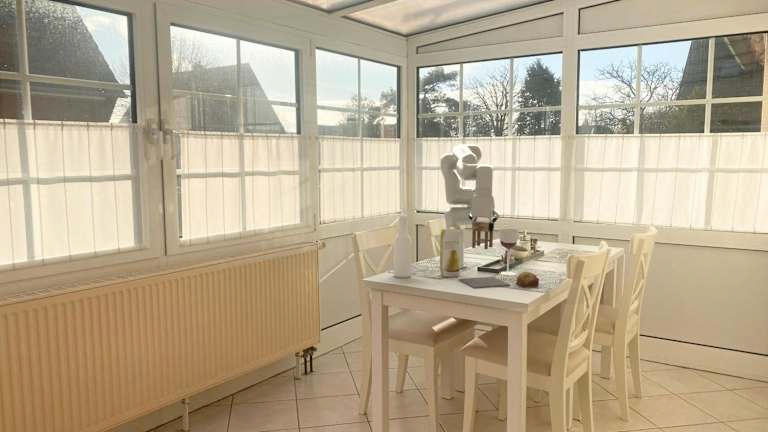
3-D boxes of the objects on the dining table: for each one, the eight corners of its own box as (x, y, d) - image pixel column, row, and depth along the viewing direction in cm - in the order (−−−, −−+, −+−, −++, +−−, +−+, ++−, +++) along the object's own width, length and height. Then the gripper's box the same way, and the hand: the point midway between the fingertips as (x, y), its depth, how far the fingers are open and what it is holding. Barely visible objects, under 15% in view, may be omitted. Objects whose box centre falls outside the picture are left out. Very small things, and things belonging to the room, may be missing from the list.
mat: (458, 280, 269) (458, 278, 269) (492, 277, 274) (492, 276, 274) (473, 288, 252) (474, 287, 252) (510, 285, 257) (510, 284, 257)
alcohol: (391, 277, 274) (391, 215, 271) (396, 273, 283) (397, 213, 279) (408, 278, 271) (408, 216, 268) (413, 274, 280) (414, 214, 276)
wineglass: (517, 275, 279) (519, 231, 276) (497, 274, 281) (499, 230, 278) (517, 272, 287) (518, 229, 285) (497, 271, 289) (499, 228, 287)
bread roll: (516, 290, 264) (510, 275, 263) (536, 280, 265) (529, 265, 264) (523, 295, 255) (516, 280, 253) (544, 285, 255) (537, 270, 254)
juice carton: (444, 277, 274) (444, 228, 271) (438, 274, 281) (438, 226, 278) (461, 276, 276) (462, 228, 273) (455, 273, 284) (456, 225, 281)
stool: (472, 247, 260) (472, 222, 258) (477, 245, 266) (478, 220, 264) (486, 249, 256) (487, 223, 255) (492, 247, 262) (493, 221, 261)
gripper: (462, 192, 259) (462, 230, 261) (499, 193, 250) (498, 233, 252) (469, 191, 266) (468, 228, 268) (504, 192, 257) (503, 231, 259)
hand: (482, 230), depth 260 cm, fingers closed on stool, 7 cm apart
